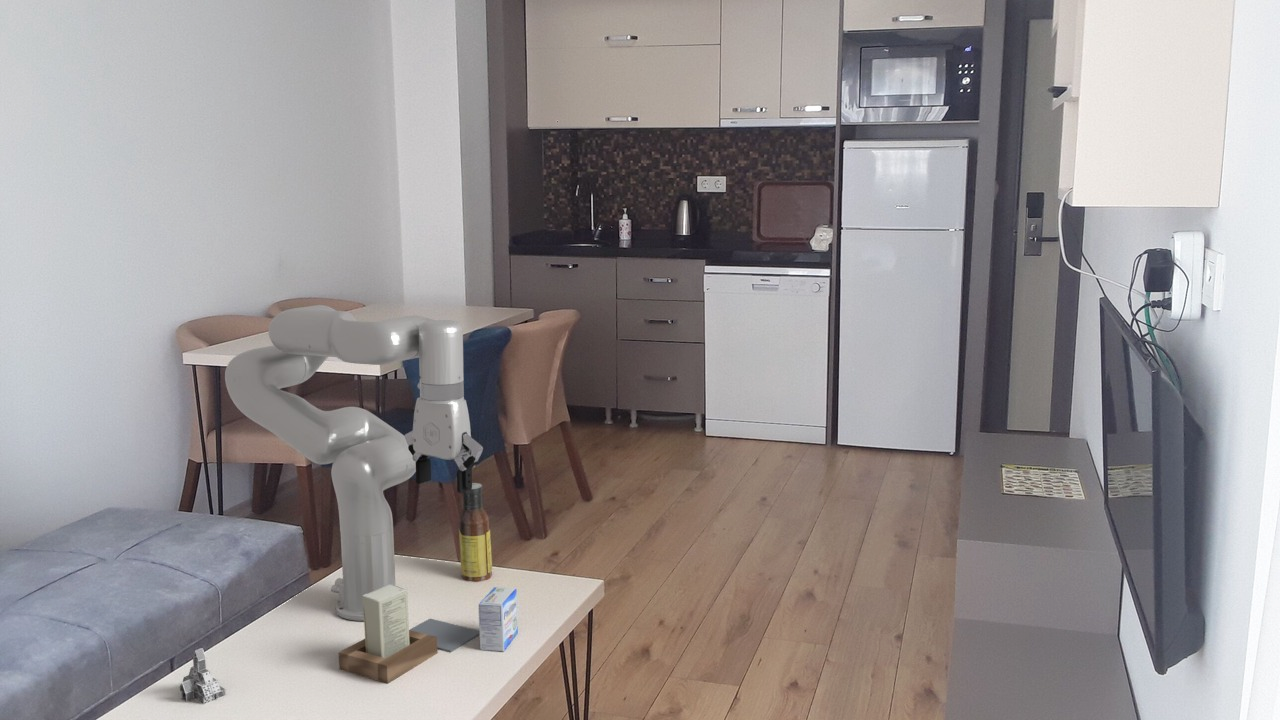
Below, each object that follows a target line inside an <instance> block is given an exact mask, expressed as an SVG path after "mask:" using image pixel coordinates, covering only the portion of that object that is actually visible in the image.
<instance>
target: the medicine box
mask: <svg viewBox="0 0 1280 720" xmlns="http://www.w3.org/2000/svg"><path fill="white" fill-rule="evenodd" d="M518 621H519V619H518V593H517V588H515V587H508V586H507V587H505V586H504V587H503V586H495V587H493V588H491V590H490V591H489V592H488V594H487V595H485V597H484V598H483V599H482V600H480V602H479V603H478V624H479V625H478V627H479V628H478V630H479V632H480V635H479V645H480V648H479V649H480V650H481V651H487V652H488V651H490V652H505V651H506V650H507V648H508V647H509V645H510V644H511V643H512V641H513V640H514V639H515V638H516V636H517V635H518V632H519V629H518V628H519V627H518V625H519V624H518Z"/></svg>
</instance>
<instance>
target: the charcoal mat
mask: <svg viewBox="0 0 1280 720" xmlns="http://www.w3.org/2000/svg"><path fill="white" fill-rule="evenodd" d="M409 630H411V631H415V632H419V633H423V634H427V635H431V636H435V637H437V650H438V651H439V650H440V651H444V652H447V653H453V652H454V651H456V650H457V649H459V648H460V647H462V646H464V645H465V644H467V643H469V642H470V641H471V640H473V639H475V638H477V637H478V636H480V632H479V629H475V628H470V627H467V626H463V625H458V624H454V623H452V622H451V623H450V622H446V621H443V620H439V619H435V618H428V619H426V620H425V621H422V622H421V623H419V624H417V625H415V626H413V627H412V628H409Z"/></svg>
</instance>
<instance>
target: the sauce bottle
mask: <svg viewBox="0 0 1280 720" xmlns="http://www.w3.org/2000/svg"><path fill="white" fill-rule="evenodd" d="M482 493H483V485H482V484H481V483H478V482H472V489H471V490H468V491H465V492H463V493H461V494H462V499H463V500H462V501H463V505H462V511H461V514H460V520H459V523H458V535H459V536H458V538H459V539H458V540H459V558H460V571H461V577H462V579H463V580H464V581H465V582H471V583H472V582H473V583H479V582H484V581H487V580H488V581H489V580H490V579H491V578H492V576H493V572H492V571H493V557H492V544H491V543H492V540H491V539H492V538H491V528H490V517H489V515H488V513H487V511H486V510H485V509H484V507H483V505H484V503H483V497H482Z"/></svg>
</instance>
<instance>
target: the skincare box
mask: <svg viewBox="0 0 1280 720" xmlns="http://www.w3.org/2000/svg"><path fill="white" fill-rule="evenodd" d="M408 602H409V601H408V589H405V588H402V587H400V586H397V585H396V586H394V585H392V584H390V585H388V586H385V587H383V588H380V589H378V590H375V591H373V592H370V593H368V594H365V595H363V608H364V621H363V623H364V624H363V627H364V639H365V647H366V653H368V654H372V655H375V656H379V657H383V658H388V657H389V656H391V655H393V654H395V653H396V652H398V651H400V650H402V649H403V648H405V647H407V646H409V645H410V641H409V630H410V625H409V623H410V621H409V604H408Z"/></svg>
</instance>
